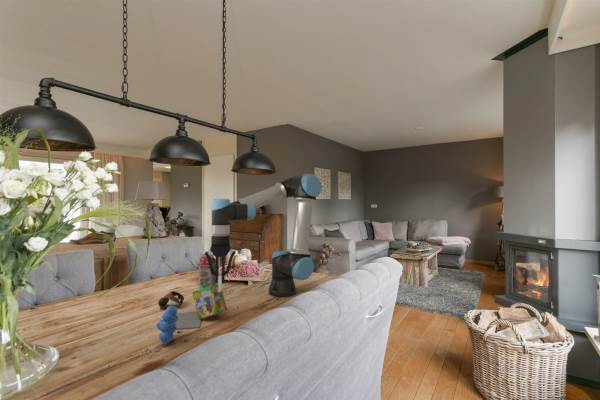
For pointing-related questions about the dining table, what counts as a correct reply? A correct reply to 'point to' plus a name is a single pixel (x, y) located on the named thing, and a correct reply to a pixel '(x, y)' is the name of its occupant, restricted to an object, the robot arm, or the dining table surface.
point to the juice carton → (206, 271)
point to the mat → (187, 320)
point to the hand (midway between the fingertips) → (219, 290)
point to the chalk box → (209, 300)
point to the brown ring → (171, 296)
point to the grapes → (167, 325)
